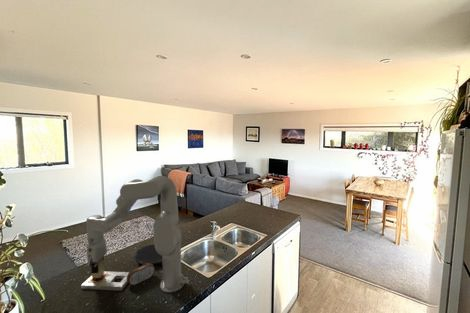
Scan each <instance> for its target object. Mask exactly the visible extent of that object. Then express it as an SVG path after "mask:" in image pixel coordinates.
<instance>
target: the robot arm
mask: <svg viewBox="0 0 470 313" xmlns="http://www.w3.org/2000/svg"><path fill="white" fill-rule="evenodd" d="M159 195H160V201H159V202H160V203H159V204H160V214H158V216H157V217H156V218H155V220H154V223H153V228H152V229H153V239H154V242H153V243H154V244H155V249H156V251H157V253H158V254H159V255H161V256H162V262H161V263H162V280H161V281H160V284H159V286H160V289H161V291H162V292H164V293H175V292H177V291H179V290H181V289H182V288H183V286H184V285H185V284H186V285H189V283H190V279H189V278H188V276H184V274H183V273H182V254H181V253H182V233H181V230H180V229H179V228H178V227H176V225H177V224H178V221H179V205H178V193H177V187H176V185H175V183H174V181H173V180H172V179H171V178H169V176H165V175H157V176H155V177H153V178H150V179H148V180H145V181H144V180H142V179H140V178H139V179H138V178H137V179H133V180H129V181H128V182H125V183H124V184H123V185H121V186H120V189H119V196H118V197H117V198H116V199H115V200H116V201H115V204H116V207H115V209H114V210H113V211H112V212H111V213H110V214H108V215H107V216H104V217H103V216H102V215H100V214H94V215H91V216H88V217H87V218H86V236H87V249H86V260H87V265H86V266H87V267H91V268H90V270H91V274H92V273H98V266H97V261H99V260H100V259H101V258H103V261H104V260H105V255H107V252H108V249H107V248H108V246H107V242H106V238H105V234H106V233H109V232H111V231H112V230H114V229H115V228H116V227H118V226H119V225H120V224H122V222H123V221H124V220H125V219H126V218H127V216H128V215H129V214H130V212H131V209H132V207H133V206H134V205H135V204H136V202H137V201H138V200H147V199H153V198H155V197H157V196H159ZM154 244H153V245H154ZM93 262H95V263H94V264H93ZM103 266H104V263H103ZM104 267H105V266H104Z"/></svg>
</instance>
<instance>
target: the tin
mask: <svg viewBox="0 0 470 313" xmlns="http://www.w3.org/2000/svg"><path fill="white" fill-rule="evenodd" d="M128 272H129V274H128V275H127V282H128V283H127V284H129V285H130V286H137V285H139V284H140V283H142V282H144V281H147V280H149V279H150V278H152V277H153V276H154V274H155V272H156V267H155V266H154V265H153V264H152V263H147V264H145V265H143V264H141V265H140V266H138V267H135V268H133V269H132V270H130V271H128Z"/></svg>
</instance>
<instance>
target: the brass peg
mask: <svg viewBox="0 0 470 313" xmlns="http://www.w3.org/2000/svg"><path fill="white" fill-rule="evenodd" d="M94 263H95V262H93V264H94ZM103 264H104V260H103V258H101V259H100V260H99V261H97V266H98V273H92V272H91V276H92V278H97V279H101V278H100V277H101V276H102V275H103V274H104V271H105V270H104V267H105V266H103Z"/></svg>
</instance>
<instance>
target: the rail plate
mask: <svg viewBox="0 0 470 313" xmlns="http://www.w3.org/2000/svg"><path fill="white" fill-rule="evenodd" d="M129 272H130V271H128V272H127V271H110V270H109V271H106V270H104V274H103V275H102V276H101V277H100V278H99V279H101V280H100V281H99V280H97V279H98V278H92V275H90V277H88V278H87V279H86V280H85V281H84V282H83V283H82V284H80V288H81V290H82V289H83V290H105V291H123V290H124V288H125V287H126V285H127V284H129V283H128V282H127V275H128V274H129ZM116 280H121V281H120V282H116Z"/></svg>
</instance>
